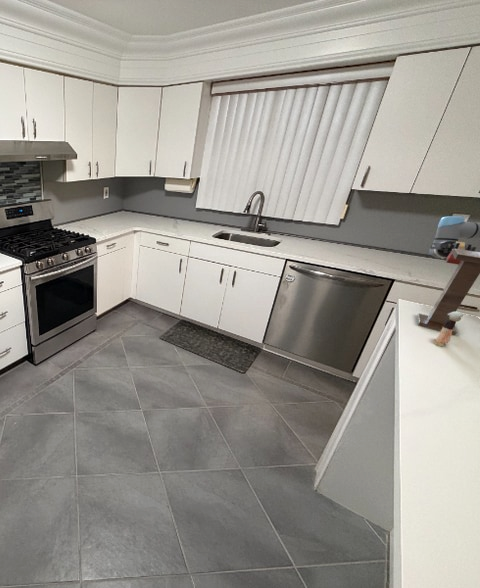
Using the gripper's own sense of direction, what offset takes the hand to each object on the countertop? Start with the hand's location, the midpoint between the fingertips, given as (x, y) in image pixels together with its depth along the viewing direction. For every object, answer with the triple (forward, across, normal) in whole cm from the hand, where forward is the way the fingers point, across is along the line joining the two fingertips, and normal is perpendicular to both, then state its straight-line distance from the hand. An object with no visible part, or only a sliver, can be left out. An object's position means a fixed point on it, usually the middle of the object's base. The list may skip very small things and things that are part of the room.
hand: (462, 247), depth 122 cm
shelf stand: (+8, -1, -31) cm, 32 cm away
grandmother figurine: (+26, -1, -36) cm, 44 cm away
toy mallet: (-2, 0, -3) cm, 4 cm away
